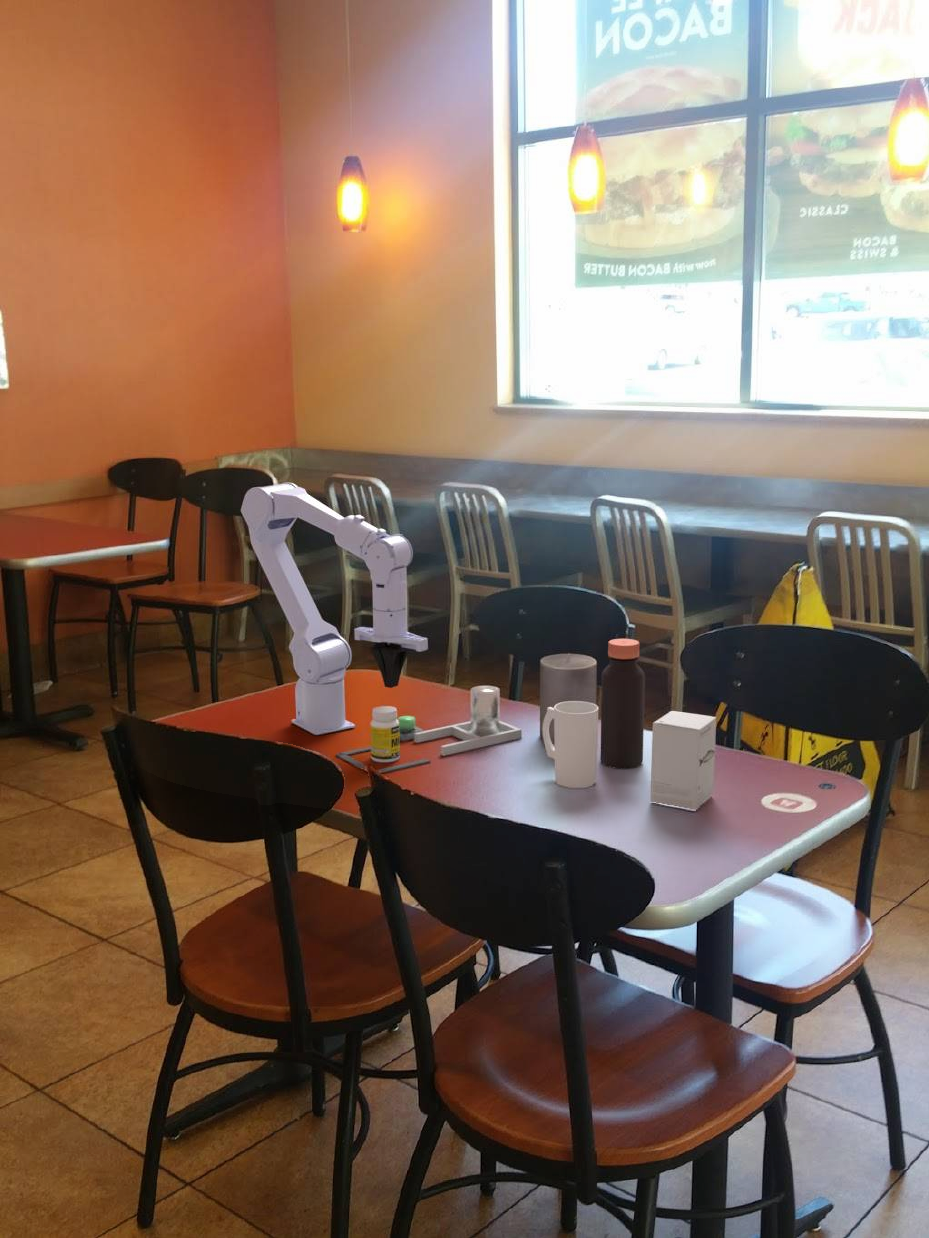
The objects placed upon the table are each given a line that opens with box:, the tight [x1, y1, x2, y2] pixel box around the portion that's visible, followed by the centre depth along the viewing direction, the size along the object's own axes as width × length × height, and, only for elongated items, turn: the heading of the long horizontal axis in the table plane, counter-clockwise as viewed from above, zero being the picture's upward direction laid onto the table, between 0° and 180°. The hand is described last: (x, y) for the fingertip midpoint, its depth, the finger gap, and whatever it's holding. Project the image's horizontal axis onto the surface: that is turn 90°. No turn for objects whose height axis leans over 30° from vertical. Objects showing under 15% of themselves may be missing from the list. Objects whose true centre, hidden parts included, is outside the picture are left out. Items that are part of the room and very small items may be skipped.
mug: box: [542, 701, 600, 789], centre depth 191 cm, size 10×7×12 cm, turn 45°
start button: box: [397, 715, 416, 732], centre depth 213 cm, size 3×3×3 cm
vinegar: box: [600, 638, 646, 769], centre depth 197 cm, size 7×7×20 cm
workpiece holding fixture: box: [413, 720, 522, 757], centre depth 211 cm, size 9×16×2 cm, turn 124°
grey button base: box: [399, 725, 425, 742], centre depth 213 cm, size 4×4×1 cm
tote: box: [335, 745, 431, 774], centre depth 202 cm, size 12×11×1 cm
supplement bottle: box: [369, 705, 401, 763], centre depth 201 cm, size 5×5×8 cm
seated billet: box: [470, 685, 501, 737], centre depth 212 cm, size 5×5×8 cm
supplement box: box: [649, 710, 717, 809], centre depth 181 cm, size 7×7×13 cm
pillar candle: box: [539, 652, 598, 746], centre depth 210 cm, size 10×10×15 cm
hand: (391, 686), depth 210 cm, fingers closed
